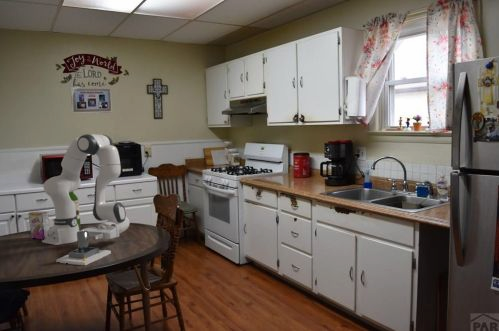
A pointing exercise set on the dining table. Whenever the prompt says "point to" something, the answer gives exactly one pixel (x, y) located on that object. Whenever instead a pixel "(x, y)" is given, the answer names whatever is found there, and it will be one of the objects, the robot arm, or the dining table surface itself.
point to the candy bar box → (38, 224)
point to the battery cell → (82, 241)
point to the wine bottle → (75, 199)
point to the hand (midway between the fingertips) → (87, 237)
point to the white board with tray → (83, 256)
